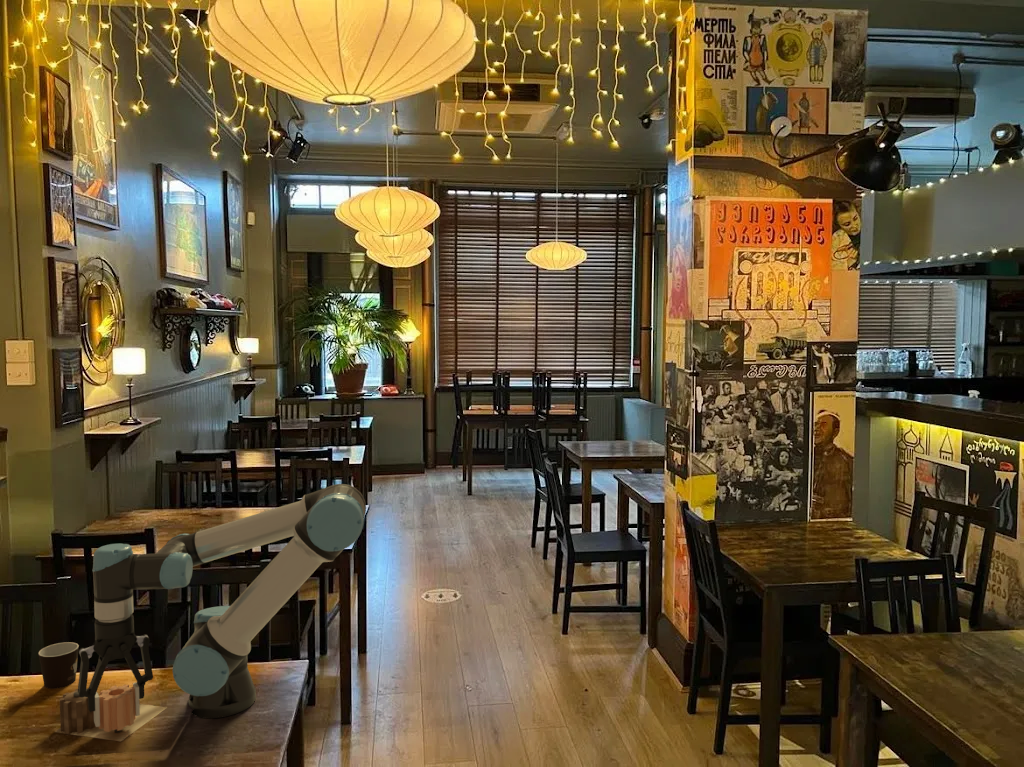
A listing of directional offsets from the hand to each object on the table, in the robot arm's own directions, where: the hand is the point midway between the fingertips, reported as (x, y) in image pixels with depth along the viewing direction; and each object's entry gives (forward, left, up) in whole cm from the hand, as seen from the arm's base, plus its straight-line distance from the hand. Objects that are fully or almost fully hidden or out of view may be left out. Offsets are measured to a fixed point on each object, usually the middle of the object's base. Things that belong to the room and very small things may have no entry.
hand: (117, 718), depth 166 cm
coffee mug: (+31, -18, -5) cm, 36 cm away
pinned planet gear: (+10, 0, -3) cm, 10 cm away
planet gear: (0, 0, -1) cm, 1 cm away
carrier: (+5, -4, -4) cm, 8 cm away
